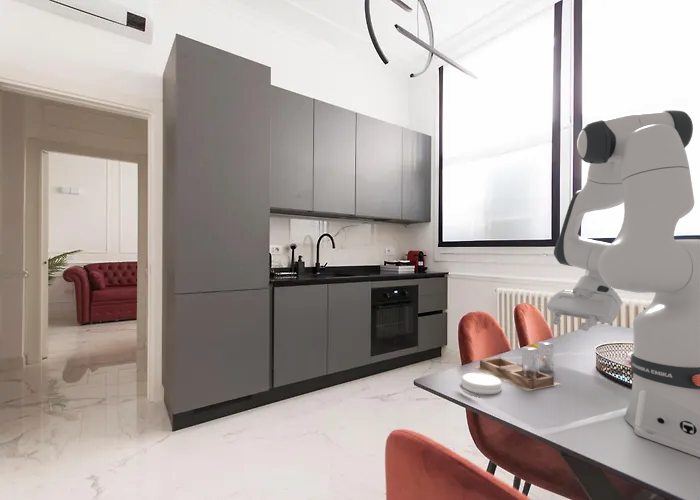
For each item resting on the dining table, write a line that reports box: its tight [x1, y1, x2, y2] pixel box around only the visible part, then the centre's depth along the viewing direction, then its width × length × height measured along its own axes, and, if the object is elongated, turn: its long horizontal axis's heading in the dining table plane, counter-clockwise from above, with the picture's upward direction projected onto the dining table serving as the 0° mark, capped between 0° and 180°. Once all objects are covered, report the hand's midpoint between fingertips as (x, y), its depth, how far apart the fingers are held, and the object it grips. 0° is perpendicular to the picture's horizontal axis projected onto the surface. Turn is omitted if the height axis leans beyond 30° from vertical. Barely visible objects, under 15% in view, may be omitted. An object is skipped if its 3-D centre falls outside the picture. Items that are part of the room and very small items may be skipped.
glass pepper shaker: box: [537, 341, 555, 374], centre depth 106 cm, size 4×4×9 cm
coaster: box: [461, 372, 503, 399], centre depth 93 cm, size 10×10×4 cm
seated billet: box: [521, 346, 539, 379], centre depth 97 cm, size 4×4×9 cm
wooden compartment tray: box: [473, 356, 561, 392], centre depth 102 cm, size 20×12×3 cm, turn 21°
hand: (568, 326), depth 109 cm, fingers open, 8 cm apart
